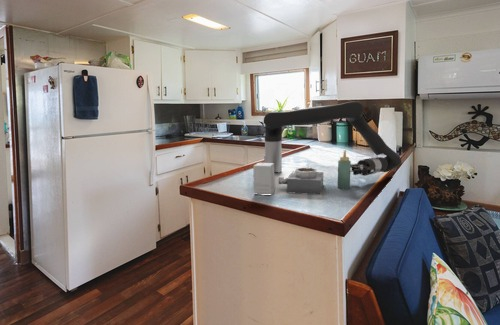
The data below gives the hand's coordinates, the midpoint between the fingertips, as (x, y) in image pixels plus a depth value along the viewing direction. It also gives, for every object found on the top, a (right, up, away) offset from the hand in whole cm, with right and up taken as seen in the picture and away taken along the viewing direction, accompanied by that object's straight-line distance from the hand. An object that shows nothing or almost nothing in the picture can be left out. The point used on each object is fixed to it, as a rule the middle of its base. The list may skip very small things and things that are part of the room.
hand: (345, 170), depth 137 cm
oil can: (-1, -7, +1) cm, 8 cm away
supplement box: (-36, -10, -5) cm, 38 cm away
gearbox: (-20, -8, +1) cm, 22 cm away
